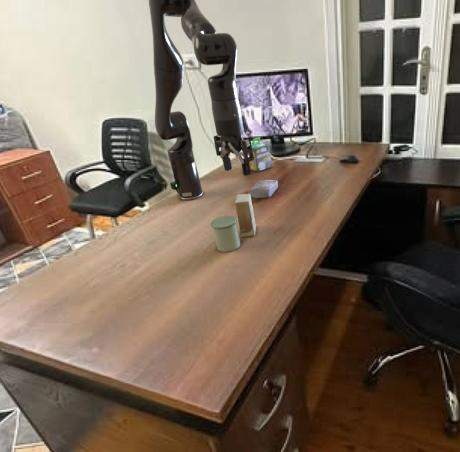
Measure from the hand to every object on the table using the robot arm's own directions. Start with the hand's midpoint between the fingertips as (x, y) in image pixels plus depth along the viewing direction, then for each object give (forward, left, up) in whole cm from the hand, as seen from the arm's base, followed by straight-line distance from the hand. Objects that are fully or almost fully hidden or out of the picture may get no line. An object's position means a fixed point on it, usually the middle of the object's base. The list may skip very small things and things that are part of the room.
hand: (237, 172), depth 104 cm
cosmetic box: (0, 0, -21) cm, 21 cm away
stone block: (-21, +26, -21) cm, 39 cm away
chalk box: (-46, +47, -21) cm, 69 cm away
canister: (+1, -9, -20) cm, 22 cm away
